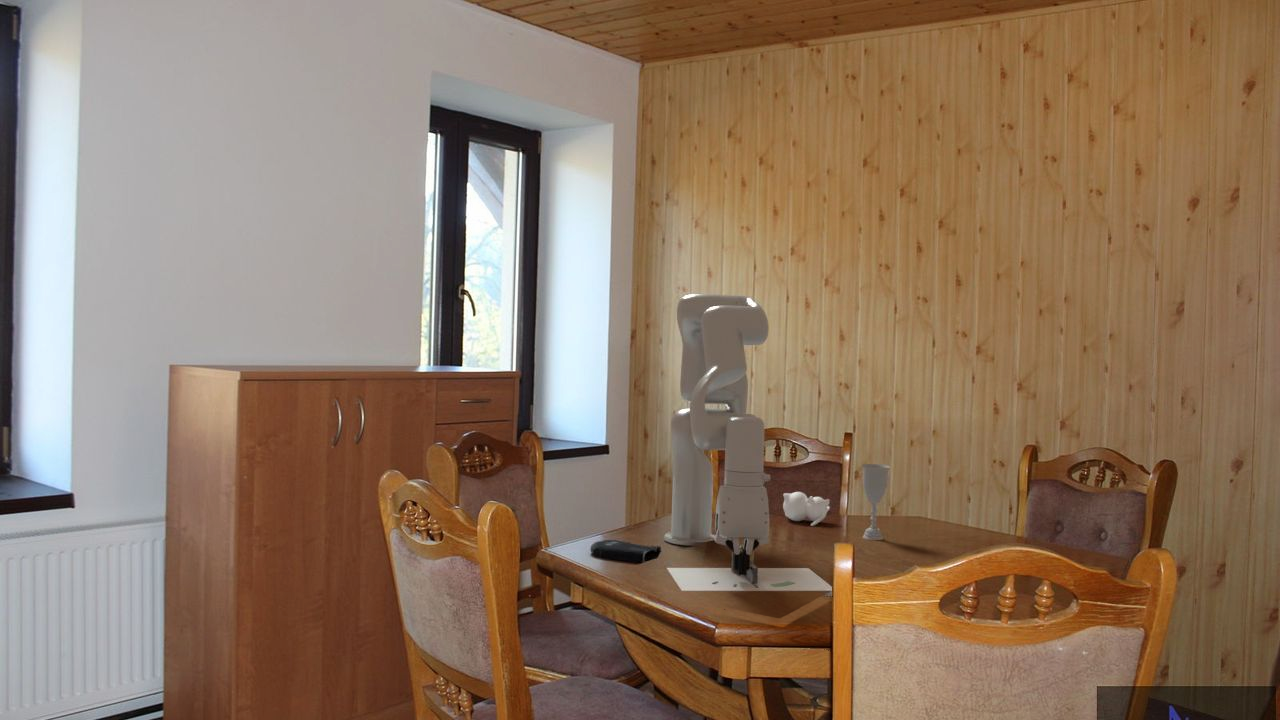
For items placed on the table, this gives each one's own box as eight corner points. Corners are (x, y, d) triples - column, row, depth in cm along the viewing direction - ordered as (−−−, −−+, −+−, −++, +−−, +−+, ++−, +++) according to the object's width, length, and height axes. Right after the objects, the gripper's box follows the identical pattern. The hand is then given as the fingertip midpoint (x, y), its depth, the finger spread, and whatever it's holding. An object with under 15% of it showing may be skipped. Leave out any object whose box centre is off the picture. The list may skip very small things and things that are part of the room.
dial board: (666, 573, 206) (666, 567, 206) (808, 573, 210) (808, 567, 210) (681, 597, 188) (681, 589, 188) (836, 596, 192) (836, 589, 192)
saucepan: (729, 568, 206) (730, 543, 206) (750, 568, 207) (751, 544, 207) (743, 583, 194) (744, 557, 194) (765, 583, 194) (766, 557, 194)
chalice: (893, 540, 248) (896, 467, 248) (869, 541, 246) (872, 468, 245) (875, 534, 255) (878, 463, 255) (852, 535, 253) (855, 464, 252)
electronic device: (661, 563, 222) (602, 546, 229) (664, 540, 221) (605, 523, 227) (642, 578, 214) (582, 559, 220) (645, 553, 213) (584, 535, 219)
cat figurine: (830, 488, 268) (785, 482, 272) (821, 514, 260) (776, 508, 264) (831, 513, 273) (787, 507, 277) (823, 539, 265) (778, 533, 269)
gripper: (776, 478, 201) (773, 570, 201) (702, 477, 199) (699, 569, 199) (786, 482, 193) (783, 578, 193) (709, 481, 192) (706, 578, 192)
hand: (740, 573), depth 196 cm, fingers closed
